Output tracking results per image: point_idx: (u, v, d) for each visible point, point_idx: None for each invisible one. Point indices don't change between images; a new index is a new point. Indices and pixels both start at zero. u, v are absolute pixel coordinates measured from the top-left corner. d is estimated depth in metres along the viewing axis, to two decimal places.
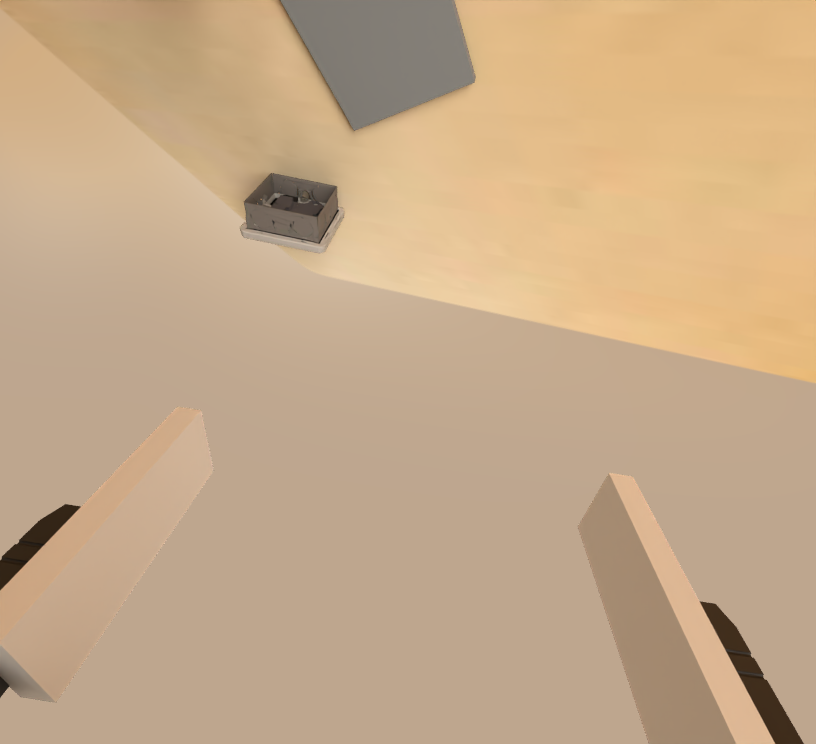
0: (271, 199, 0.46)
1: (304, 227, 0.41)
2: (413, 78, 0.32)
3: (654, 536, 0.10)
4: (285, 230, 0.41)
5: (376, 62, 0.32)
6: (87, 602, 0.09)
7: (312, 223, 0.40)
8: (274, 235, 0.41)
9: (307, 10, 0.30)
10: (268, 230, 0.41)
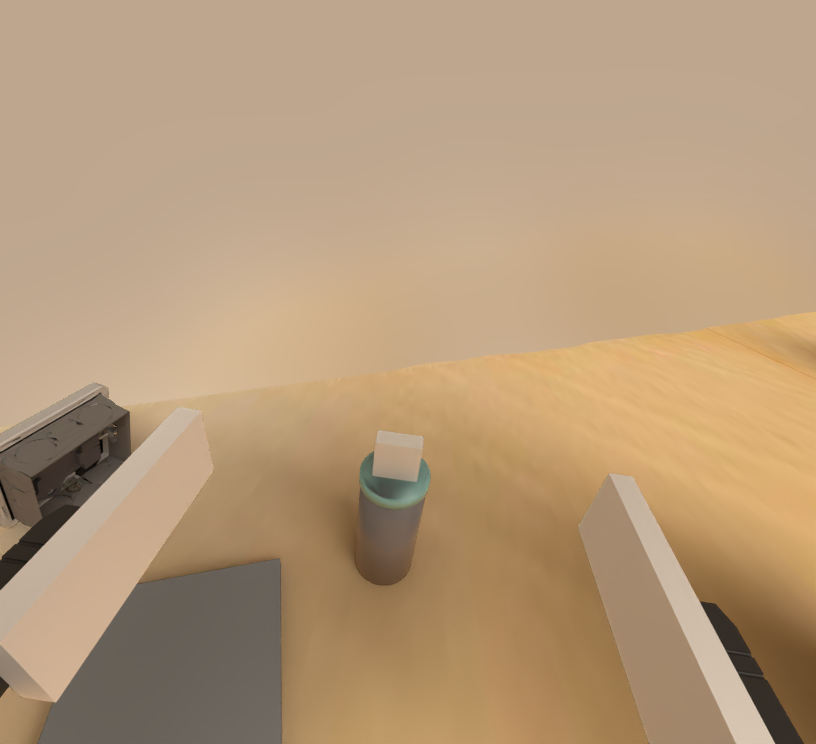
0: (105, 445, 0.36)
1: (34, 453, 0.27)
2: (88, 718, 0.21)
3: (654, 536, 0.10)
4: (55, 429, 0.29)
5: (145, 658, 0.24)
6: (87, 602, 0.09)
7: (29, 466, 0.26)
8: (62, 413, 0.29)
9: (237, 586, 0.28)
10: (75, 411, 0.30)
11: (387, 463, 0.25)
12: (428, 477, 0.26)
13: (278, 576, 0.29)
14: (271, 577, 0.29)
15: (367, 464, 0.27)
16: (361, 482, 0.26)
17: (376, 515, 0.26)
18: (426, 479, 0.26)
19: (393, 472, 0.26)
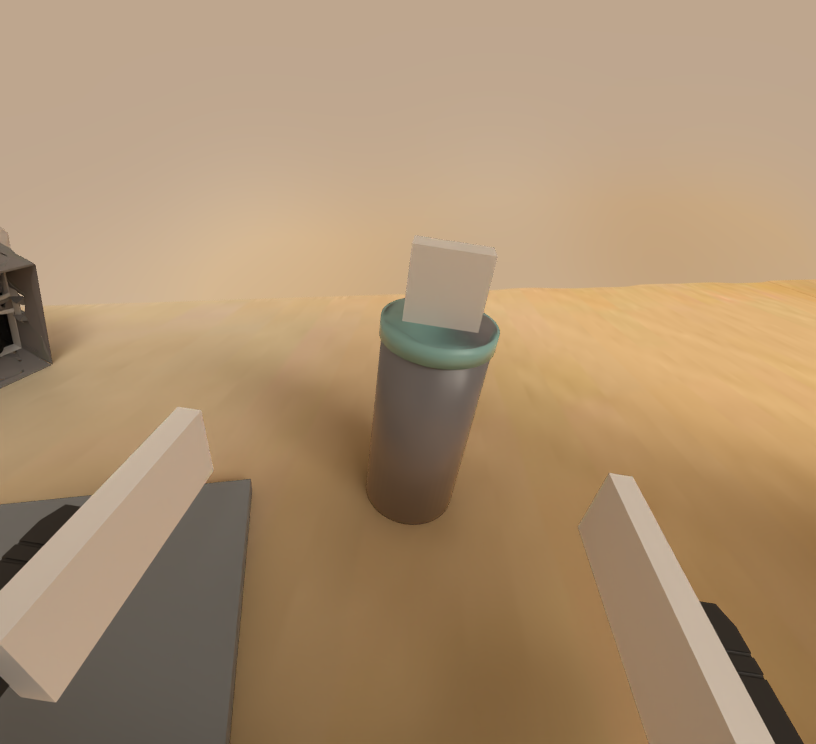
0: (14, 332, 0.25)
1: None
2: None
3: (654, 536, 0.10)
4: None
5: None
6: (87, 602, 0.09)
7: None
8: None
9: None
10: None
11: (431, 292, 0.14)
12: (496, 329, 0.16)
13: (245, 502, 0.18)
14: (234, 503, 0.18)
15: (393, 309, 0.16)
16: (384, 328, 0.15)
17: (408, 386, 0.15)
18: (493, 331, 0.15)
19: (439, 312, 0.15)
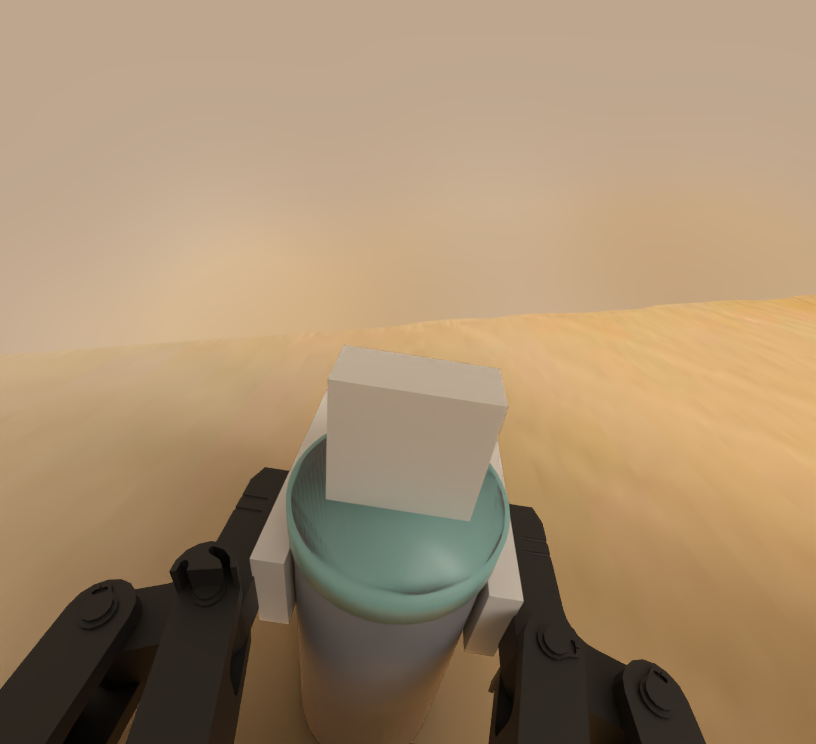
0: None
1: None
2: None
3: None
4: None
5: None
6: None
7: None
8: None
9: None
10: None
11: (376, 460, 0.07)
12: (503, 505, 0.08)
13: None
14: None
15: (317, 462, 0.09)
16: (287, 521, 0.08)
17: (336, 630, 0.08)
18: (498, 512, 0.08)
19: (394, 489, 0.08)
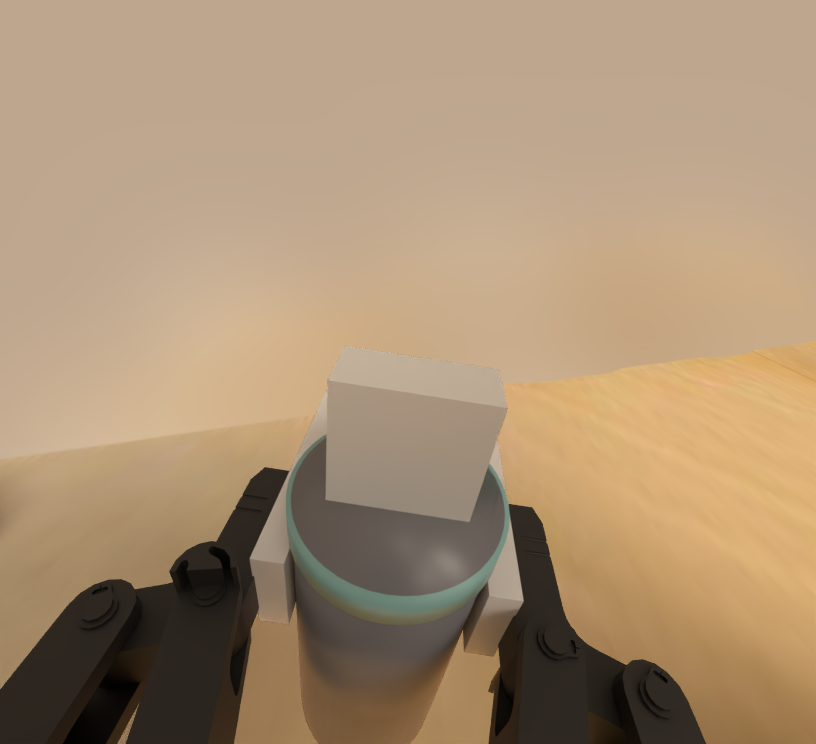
0: None
1: None
2: None
3: None
4: None
5: None
6: None
7: None
8: None
9: None
10: None
11: (376, 461, 0.07)
12: (503, 506, 0.08)
13: None
14: None
15: (316, 462, 0.09)
16: (287, 522, 0.08)
17: (336, 630, 0.08)
18: (498, 512, 0.08)
19: (394, 490, 0.08)
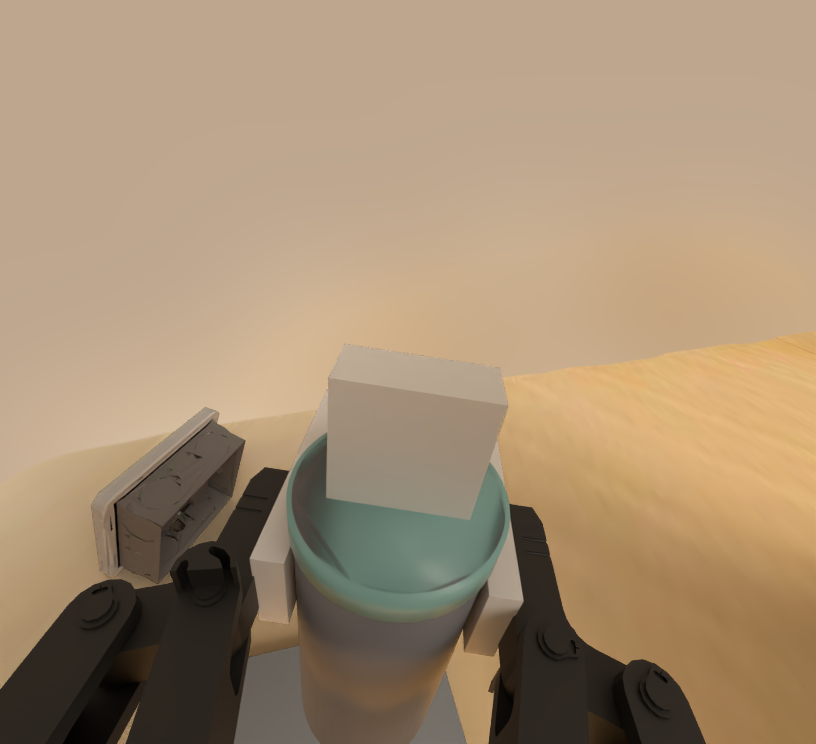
0: None
1: (159, 496, 0.23)
2: None
3: None
4: (175, 465, 0.25)
5: None
6: None
7: (157, 512, 0.22)
8: (180, 445, 0.25)
9: None
10: (191, 442, 0.26)
11: (376, 458, 0.07)
12: (503, 504, 0.08)
13: None
14: None
15: (317, 461, 0.09)
16: (288, 520, 0.08)
17: (336, 628, 0.08)
18: (498, 510, 0.08)
19: (395, 488, 0.08)
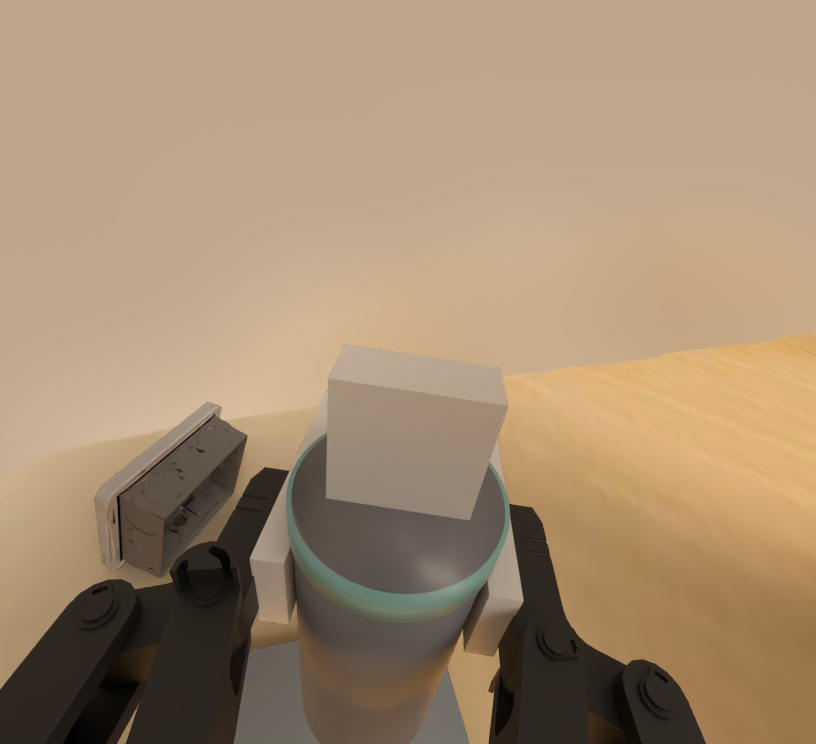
0: None
1: (162, 489, 0.23)
2: None
3: None
4: (177, 458, 0.25)
5: None
6: None
7: (159, 505, 0.22)
8: (182, 439, 0.25)
9: None
10: (193, 437, 0.26)
11: (376, 459, 0.07)
12: (503, 504, 0.08)
13: None
14: None
15: (316, 461, 0.09)
16: (288, 520, 0.08)
17: (336, 629, 0.08)
18: (498, 511, 0.08)
19: (394, 488, 0.08)
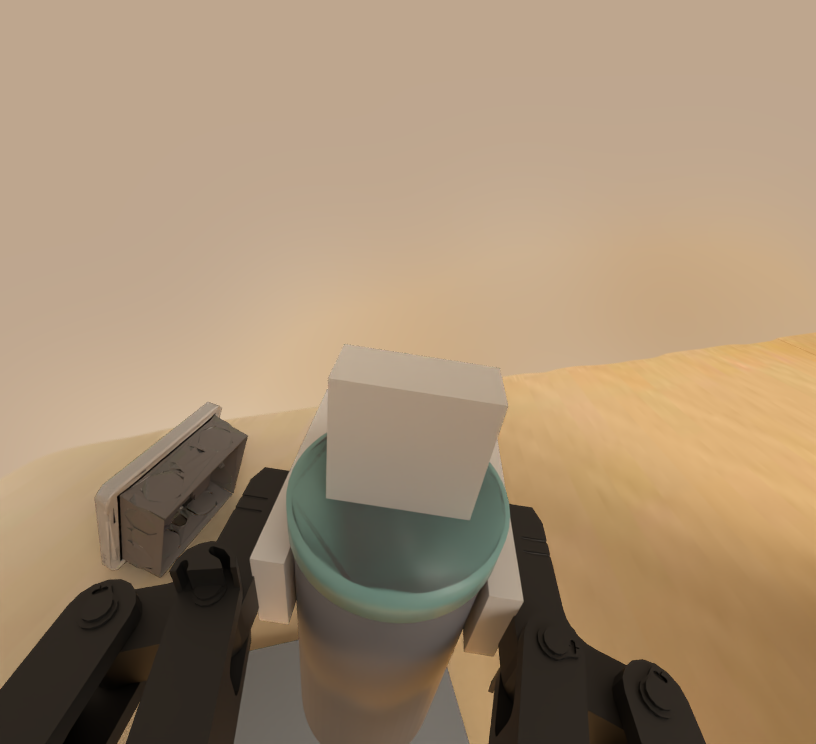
0: None
1: (162, 489, 0.23)
2: None
3: None
4: (177, 458, 0.25)
5: None
6: None
7: (160, 505, 0.22)
8: (183, 439, 0.25)
9: None
10: (194, 436, 0.26)
11: (376, 459, 0.07)
12: (503, 504, 0.08)
13: None
14: None
15: (316, 461, 0.09)
16: (288, 520, 0.08)
17: (336, 629, 0.08)
18: (498, 511, 0.08)
19: (394, 488, 0.08)
